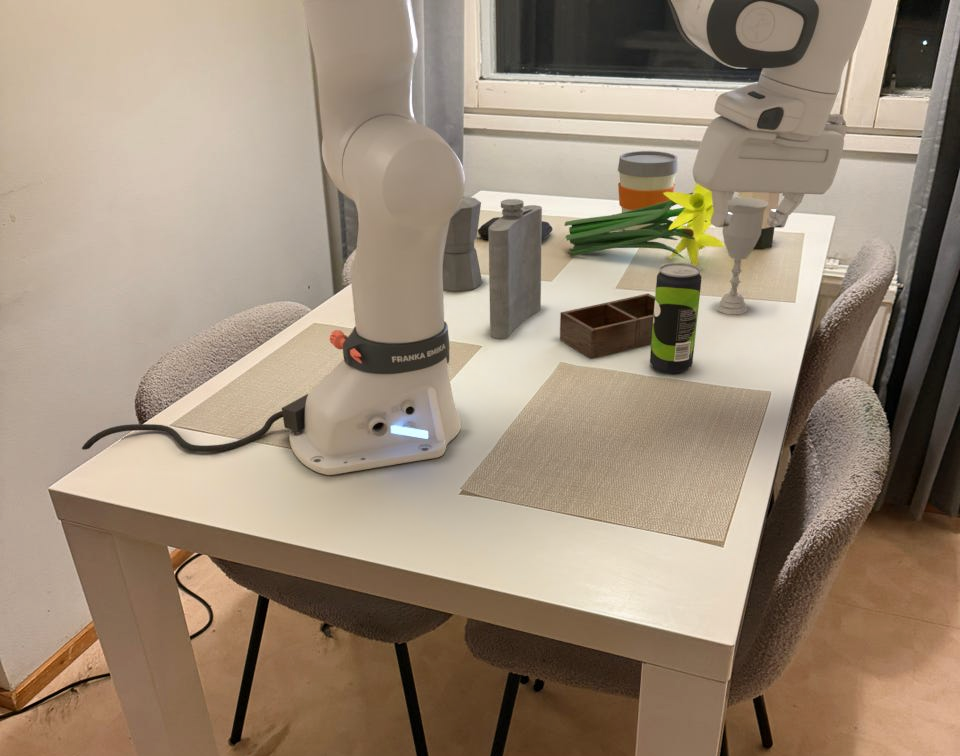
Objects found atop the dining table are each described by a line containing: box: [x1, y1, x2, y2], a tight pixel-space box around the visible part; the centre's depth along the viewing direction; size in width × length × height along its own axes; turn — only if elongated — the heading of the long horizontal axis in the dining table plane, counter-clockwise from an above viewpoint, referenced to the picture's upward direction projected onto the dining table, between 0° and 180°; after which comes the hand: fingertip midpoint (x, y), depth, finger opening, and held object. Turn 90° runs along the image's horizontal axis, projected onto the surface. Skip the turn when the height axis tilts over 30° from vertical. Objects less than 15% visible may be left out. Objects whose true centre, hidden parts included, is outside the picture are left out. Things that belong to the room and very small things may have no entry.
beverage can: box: [649, 262, 703, 375], centre depth 130 cm, size 6×6×15 cm
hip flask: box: [488, 198, 543, 340], centre depth 146 cm, size 16×4×20 cm, turn 154°
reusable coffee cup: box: [617, 150, 679, 231], centre depth 193 cm, size 13×13×15 cm
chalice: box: [715, 196, 768, 315], centre depth 149 cm, size 7×7×18 cm
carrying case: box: [477, 216, 553, 242], centre depth 193 cm, size 11×3×15 cm
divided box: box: [559, 293, 655, 360], centre depth 143 cm, size 17×9×5 cm, turn 118°
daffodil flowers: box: [564, 182, 726, 267], centre depth 174 cm, size 17×15×35 cm
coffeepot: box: [443, 195, 483, 293], centre depth 164 cm, size 15×9×18 cm, turn 176°
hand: (747, 225), depth 111 cm, fingers open, 8 cm apart
